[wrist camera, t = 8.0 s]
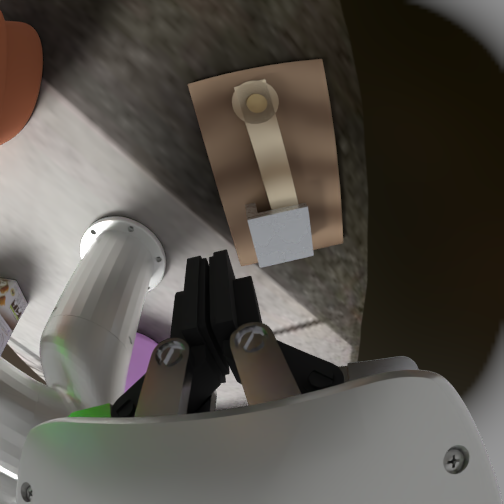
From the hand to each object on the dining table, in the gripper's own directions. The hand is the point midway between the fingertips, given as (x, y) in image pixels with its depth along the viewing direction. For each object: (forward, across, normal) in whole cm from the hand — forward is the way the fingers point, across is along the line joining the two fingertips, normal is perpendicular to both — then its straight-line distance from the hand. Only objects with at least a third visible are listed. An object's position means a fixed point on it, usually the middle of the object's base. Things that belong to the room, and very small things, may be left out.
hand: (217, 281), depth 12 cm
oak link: (+20, -6, +1) cm, 21 cm away
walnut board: (+21, -7, +3) cm, 23 cm away
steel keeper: (+22, -6, +9) cm, 24 cm away
